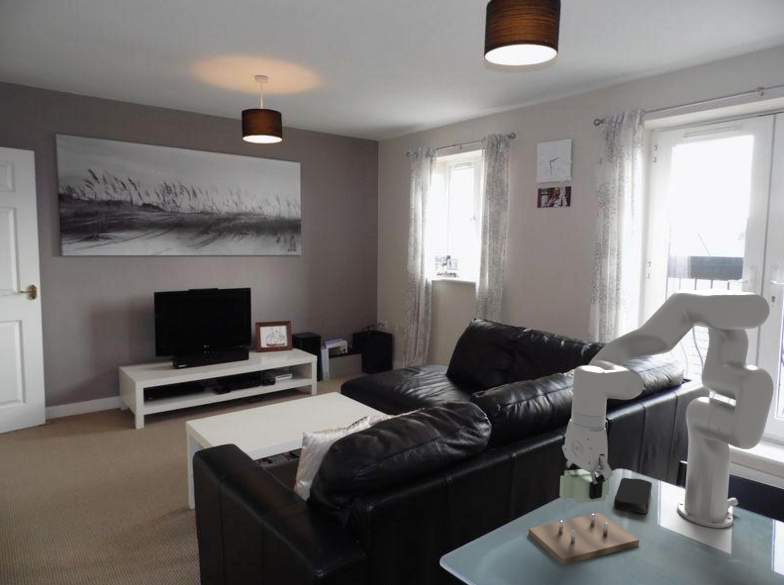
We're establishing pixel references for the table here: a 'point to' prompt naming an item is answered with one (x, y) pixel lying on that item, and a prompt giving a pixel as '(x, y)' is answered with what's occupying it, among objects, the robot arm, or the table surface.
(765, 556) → the table surface
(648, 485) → the black sponge
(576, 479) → the green grooved block
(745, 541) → the table surface
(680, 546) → the table surface
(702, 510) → the robot arm
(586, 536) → the pin plate
